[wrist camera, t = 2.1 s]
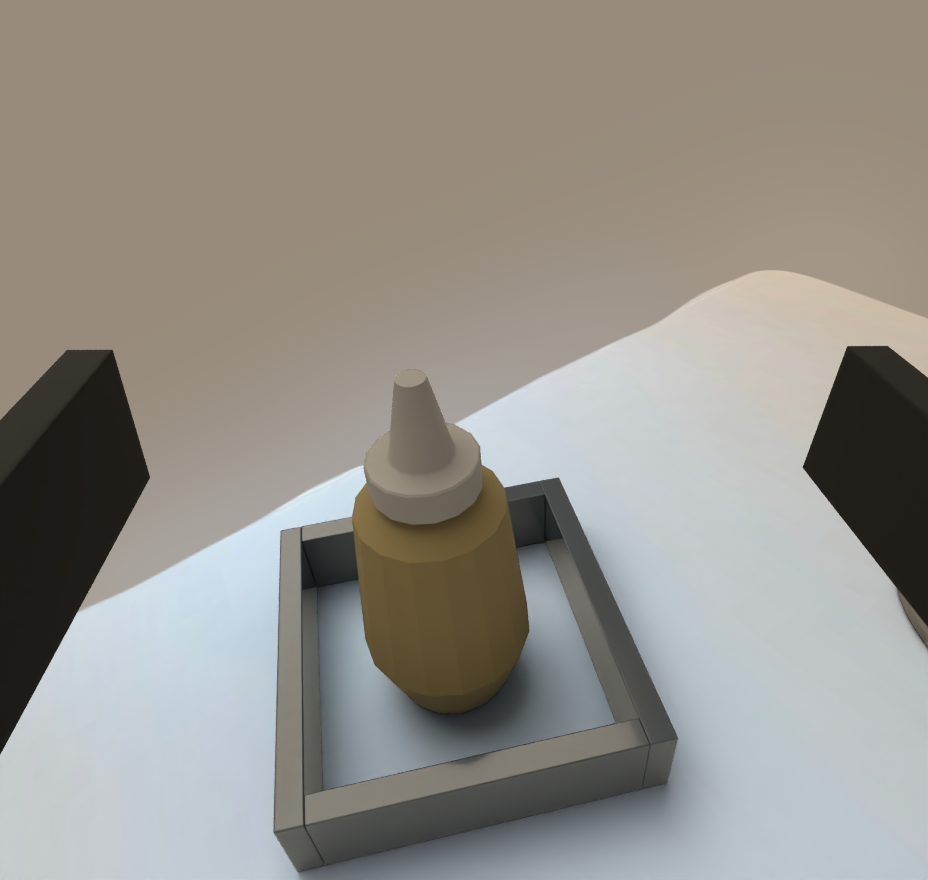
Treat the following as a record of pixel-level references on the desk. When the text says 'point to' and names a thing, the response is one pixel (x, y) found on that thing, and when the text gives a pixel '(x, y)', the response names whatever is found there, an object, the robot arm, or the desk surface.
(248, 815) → the desk surface
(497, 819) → the grey open square frame
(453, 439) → the squeeze bottle
